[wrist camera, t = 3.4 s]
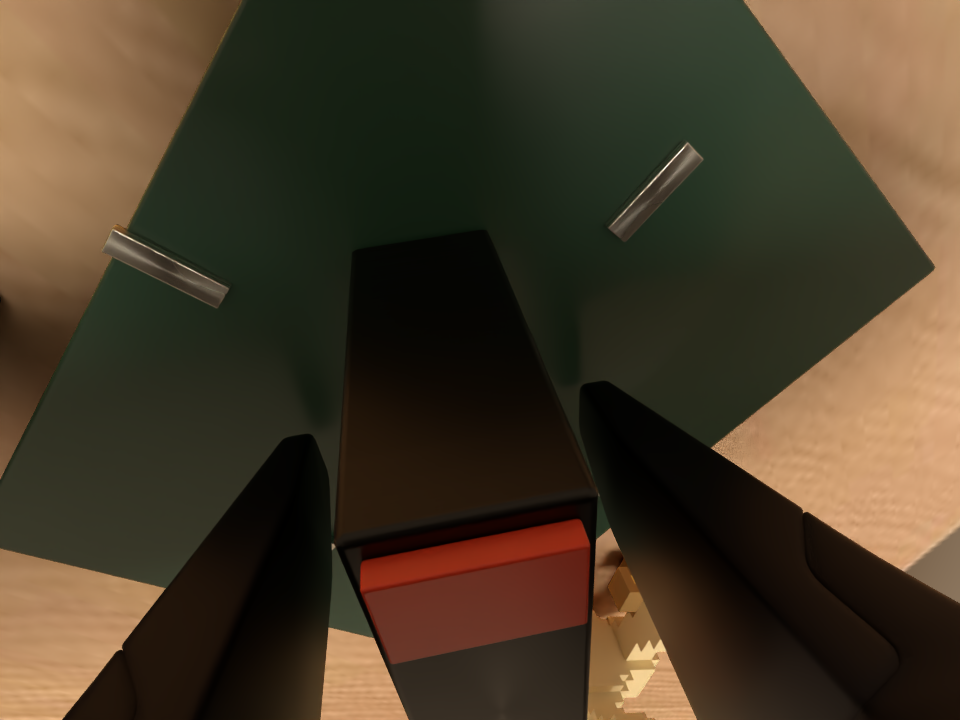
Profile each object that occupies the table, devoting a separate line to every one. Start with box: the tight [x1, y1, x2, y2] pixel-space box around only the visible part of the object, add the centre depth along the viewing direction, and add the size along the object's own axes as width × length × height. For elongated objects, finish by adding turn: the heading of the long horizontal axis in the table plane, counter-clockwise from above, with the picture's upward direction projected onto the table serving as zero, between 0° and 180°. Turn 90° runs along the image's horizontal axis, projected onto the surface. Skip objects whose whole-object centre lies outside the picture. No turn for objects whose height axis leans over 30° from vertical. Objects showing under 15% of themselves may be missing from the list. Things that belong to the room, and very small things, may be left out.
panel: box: [0, 0, 935, 638], centre depth 10 cm, size 13×10×3 cm
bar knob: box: [333, 230, 598, 720], centre depth 7 cm, size 6×2×5 cm, turn 6°
